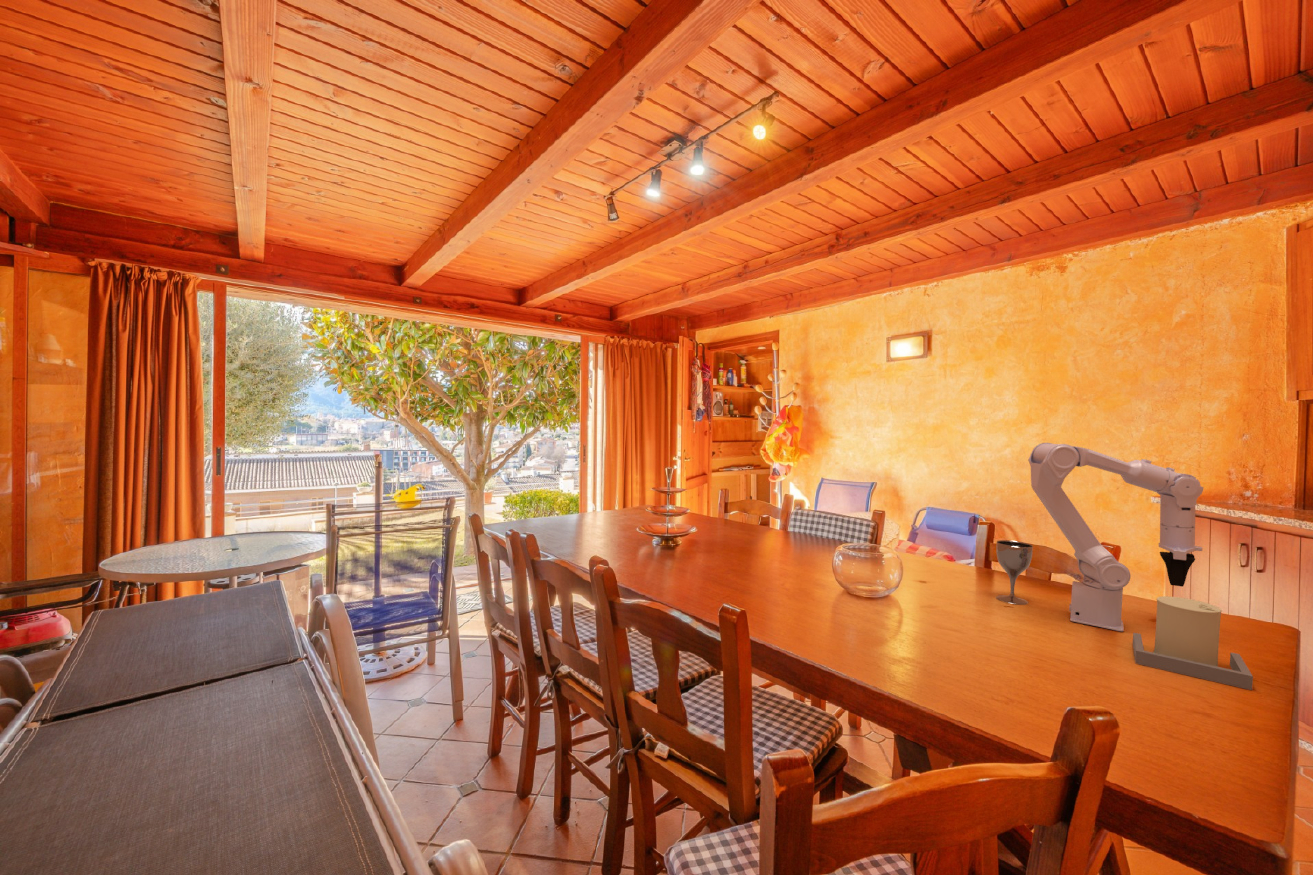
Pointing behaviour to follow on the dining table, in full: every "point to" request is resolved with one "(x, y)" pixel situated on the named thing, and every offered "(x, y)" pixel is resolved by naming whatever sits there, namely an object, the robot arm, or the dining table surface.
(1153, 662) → the holder
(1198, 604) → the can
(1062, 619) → the dining table surface
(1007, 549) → the wine glass
